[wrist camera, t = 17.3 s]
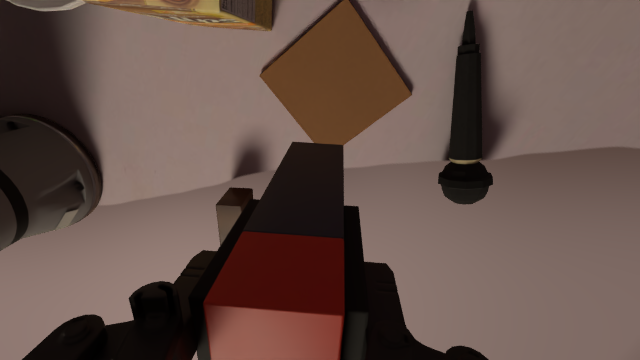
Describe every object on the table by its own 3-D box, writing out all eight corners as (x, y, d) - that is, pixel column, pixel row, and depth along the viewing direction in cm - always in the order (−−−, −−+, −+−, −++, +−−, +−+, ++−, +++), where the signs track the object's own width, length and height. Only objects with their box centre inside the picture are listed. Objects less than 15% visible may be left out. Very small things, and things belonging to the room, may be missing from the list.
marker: (335, 407, 9) (345, 314, 8) (214, 395, 10) (201, 302, 8) (339, 191, 24) (343, 144, 23) (291, 188, 24) (292, 141, 23)
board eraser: (256, 252, 44) (246, 275, 39) (235, 251, 44) (223, 274, 39) (252, 188, 40) (241, 206, 35) (229, 187, 40) (215, 204, 36)
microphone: (440, 21, 34) (439, 193, 39) (439, 10, 29) (437, 210, 34) (497, 12, 32) (487, 195, 37) (506, -2, 27) (493, 213, 32)
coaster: (260, 75, 35) (259, 75, 34) (346, -3, 31) (346, -4, 31) (326, 156, 38) (326, 157, 37) (411, 93, 34) (412, 94, 34)
